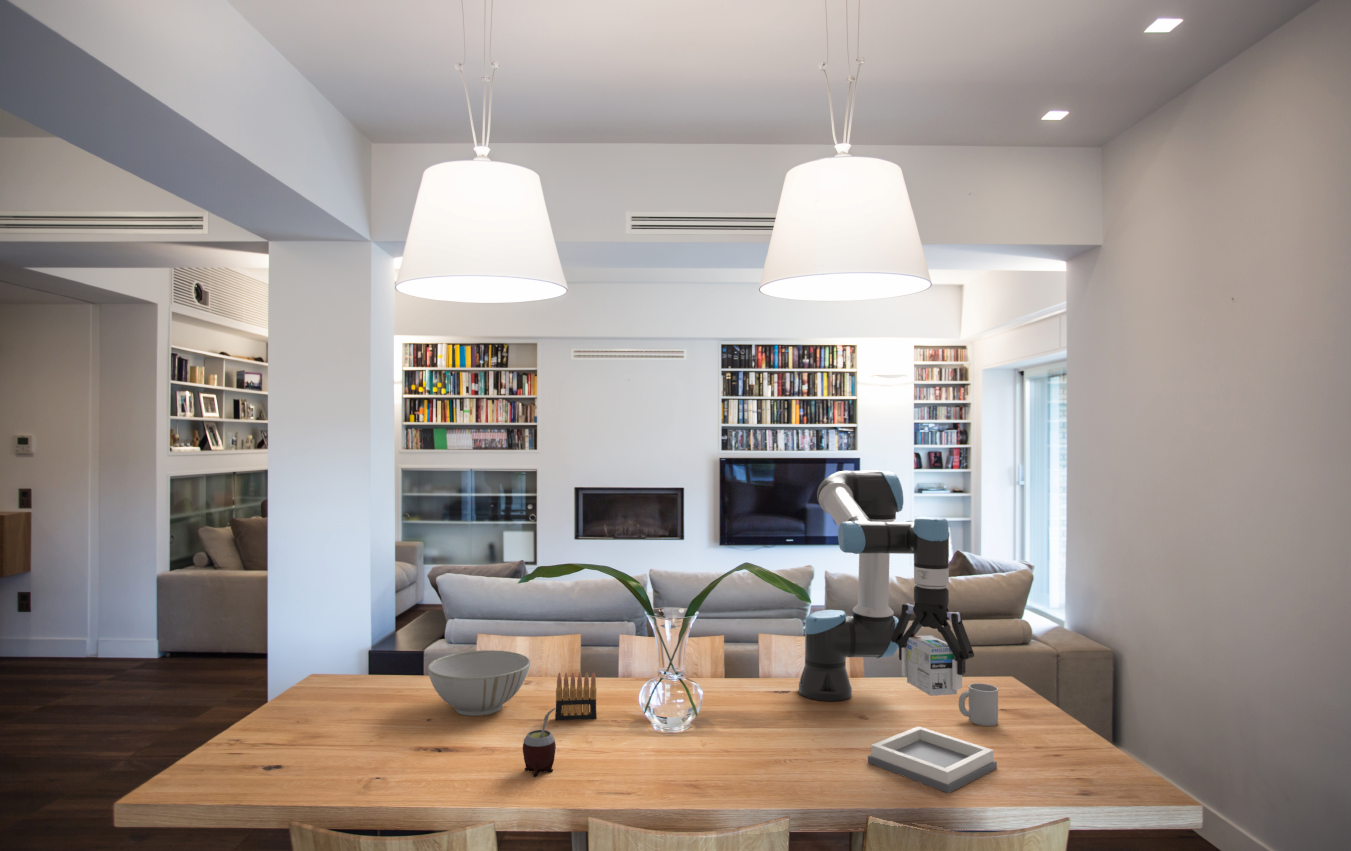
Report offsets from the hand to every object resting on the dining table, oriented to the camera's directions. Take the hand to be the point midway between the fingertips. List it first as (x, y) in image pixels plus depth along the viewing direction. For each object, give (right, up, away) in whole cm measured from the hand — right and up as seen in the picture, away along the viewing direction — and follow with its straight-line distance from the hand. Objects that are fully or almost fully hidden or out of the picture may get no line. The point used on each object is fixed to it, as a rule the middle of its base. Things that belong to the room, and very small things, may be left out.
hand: (931, 682), depth 175 cm
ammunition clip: (-84, -19, +27) cm, 90 cm away
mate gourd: (-87, -18, -6) cm, 89 cm away
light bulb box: (0, -2, 0) cm, 2 cm away
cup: (+22, -20, +28) cm, 41 cm away
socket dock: (0, -18, -1) cm, 19 cm away
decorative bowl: (-111, -19, +34) cm, 117 cm away
